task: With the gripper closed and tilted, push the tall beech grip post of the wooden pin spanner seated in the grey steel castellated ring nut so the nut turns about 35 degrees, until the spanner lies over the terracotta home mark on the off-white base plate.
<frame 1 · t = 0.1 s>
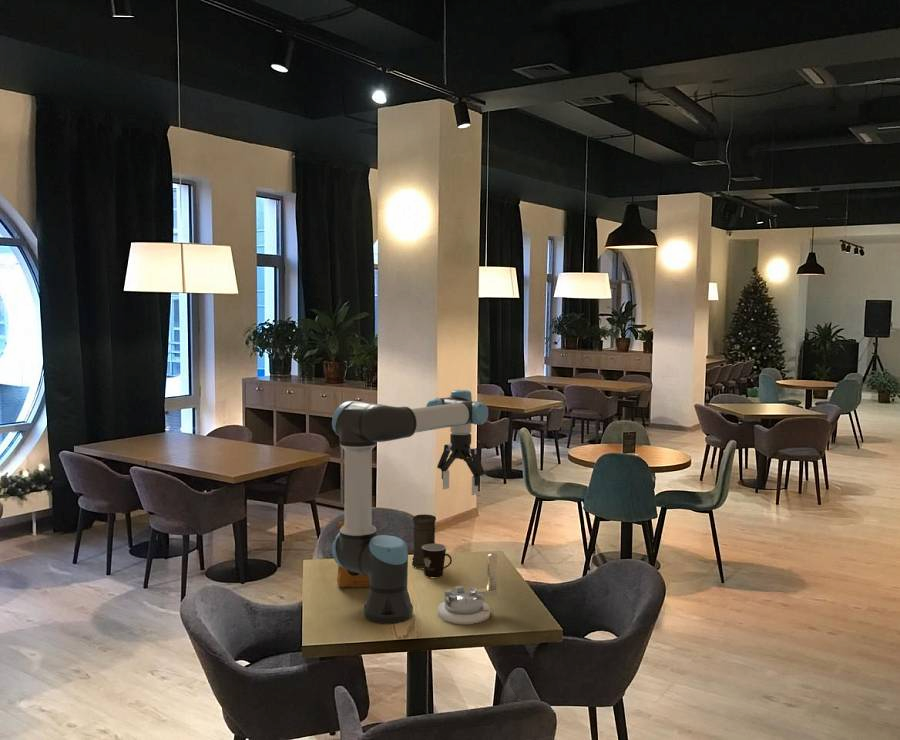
hand: (460, 491, 296), 28 cm above the table, tool pointing down, fingers open, 13 cm apart
nut base plate: (463, 614, 254), on the table
container: (424, 565, 300), on the table
coffee mug: (435, 576, 288), on the table
coffee package: (355, 585, 279), on the table
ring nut: (471, 581, 253), point 10 cm above the table, hinge at 35.0°
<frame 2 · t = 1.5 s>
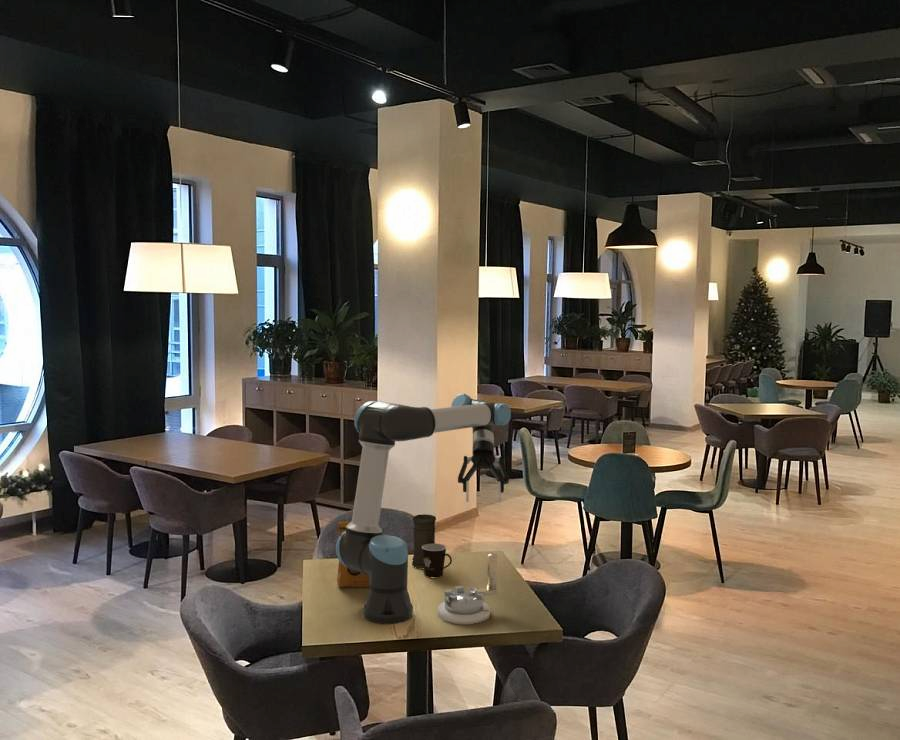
hand: (483, 499, 275), 30 cm above the table, tool tilted 45°, fingers open, 10 cm apart
nothing on the table moved.
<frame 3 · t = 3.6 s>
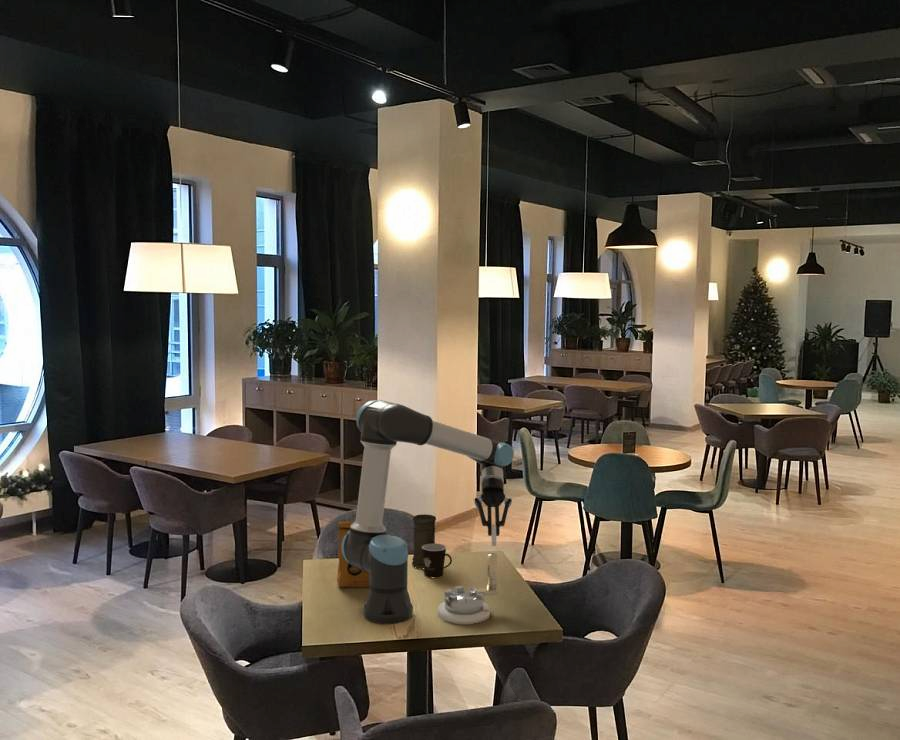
hand: (493, 544, 269), 17 cm above the table, tool tilted 45°, fingers closed
nothing on the table moved.
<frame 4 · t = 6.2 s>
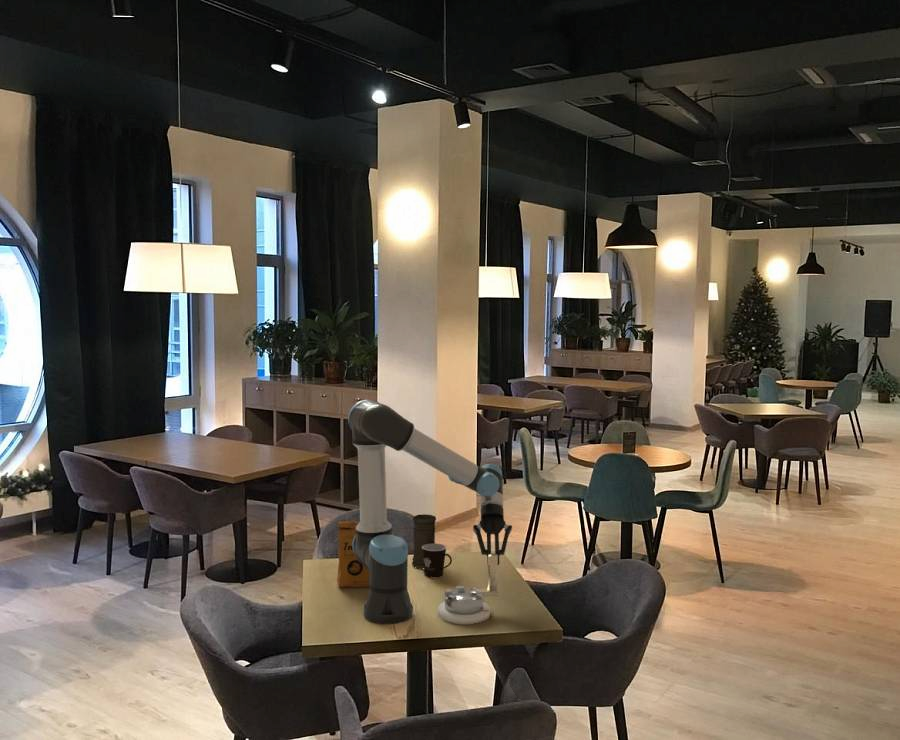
hand: (493, 574, 257), 11 cm above the table, tool tilted 45°, fingers closed
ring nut: (471, 581, 253), point 10 cm above the table, hinge at 31.3°, touching gripper
everything else where it was.
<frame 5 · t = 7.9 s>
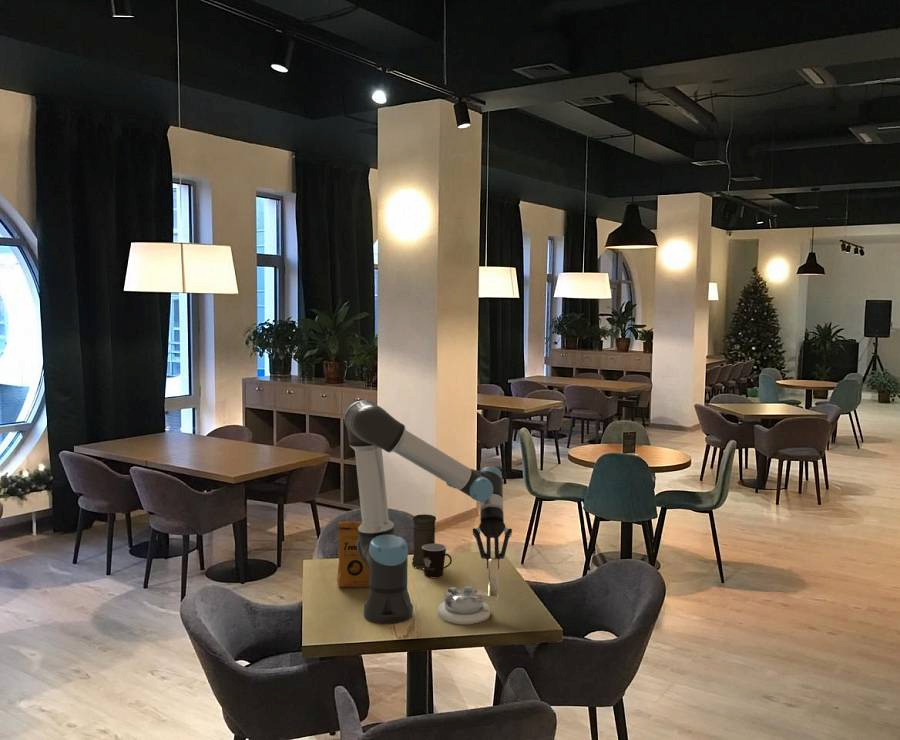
hand: (493, 578, 253), 11 cm above the table, tool tilted 45°, fingers closed
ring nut: (471, 582, 252), point 10 cm above the table, hinge at 3.6°, touching gripper
everything else where it was.
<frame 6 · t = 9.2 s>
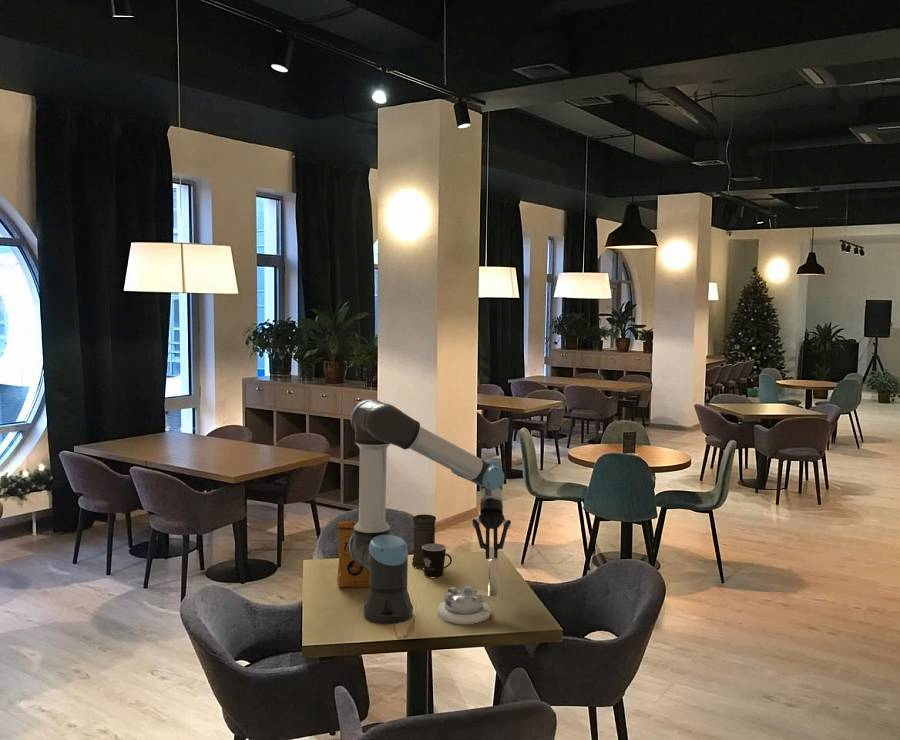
hand: (491, 567, 260), 12 cm above the table, tool tilted 45°, fingers closed
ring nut: (471, 582, 252), point 10 cm above the table, hinge at 3.6°
everything else where it was.
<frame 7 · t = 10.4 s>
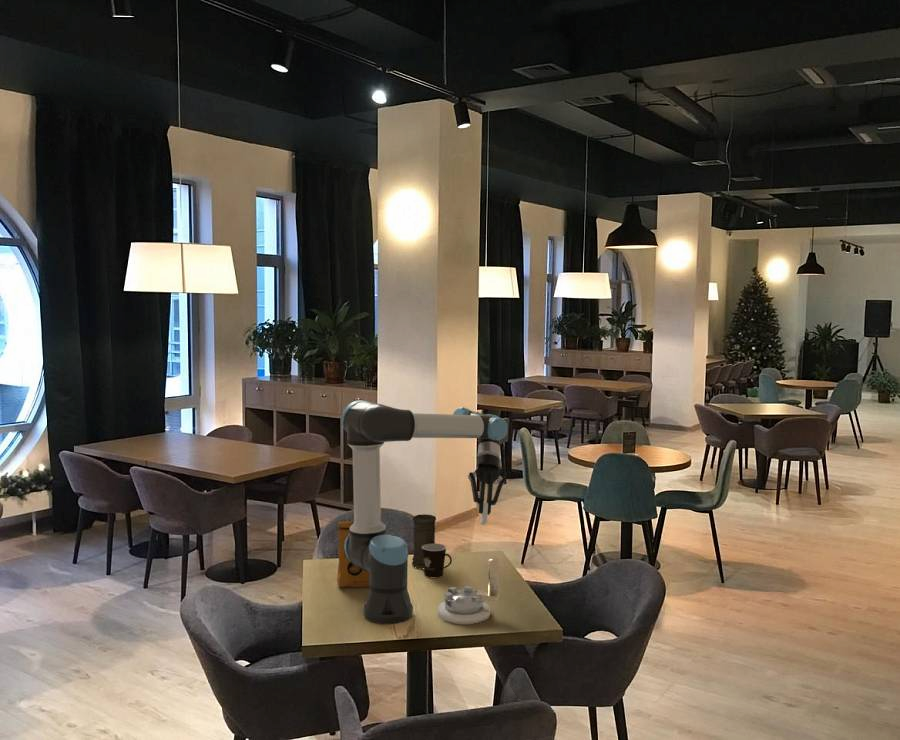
hand: (483, 523, 267), 25 cm above the table, tool tilted 35°, fingers closed
nothing on the table moved.
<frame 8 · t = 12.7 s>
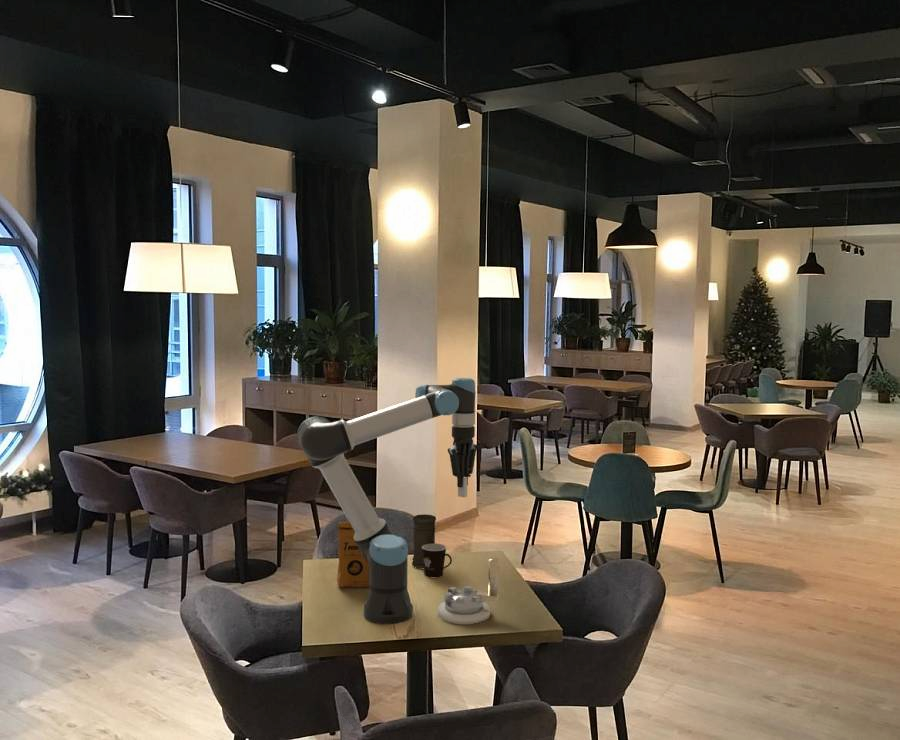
hand: (462, 496, 270), 32 cm above the table, tool pointing down, fingers closed
nothing on the table moved.
at the end: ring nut at +4° (first picture: +35°) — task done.
